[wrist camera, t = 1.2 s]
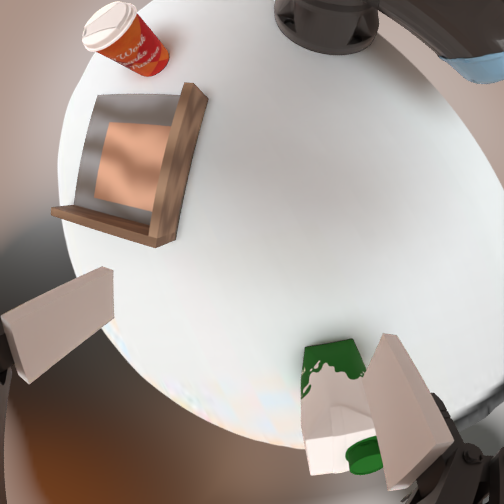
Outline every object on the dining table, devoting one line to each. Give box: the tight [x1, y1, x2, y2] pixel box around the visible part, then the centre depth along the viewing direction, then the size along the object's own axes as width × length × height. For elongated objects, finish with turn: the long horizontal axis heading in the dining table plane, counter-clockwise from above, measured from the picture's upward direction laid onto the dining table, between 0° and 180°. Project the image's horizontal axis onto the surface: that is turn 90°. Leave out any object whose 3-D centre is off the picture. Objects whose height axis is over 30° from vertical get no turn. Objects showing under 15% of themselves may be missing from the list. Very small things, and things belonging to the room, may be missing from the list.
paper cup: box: [82, 1, 169, 77], centre depth 25 cm, size 8×8×14 cm
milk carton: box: [301, 339, 383, 475], centre depth 27 cm, size 9×9×20 cm
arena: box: [51, 83, 208, 248], centre depth 32 cm, size 20×20×6 cm
